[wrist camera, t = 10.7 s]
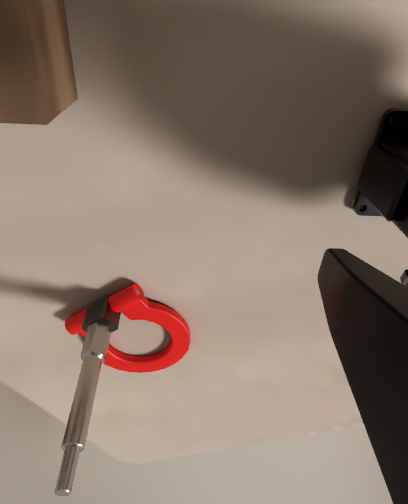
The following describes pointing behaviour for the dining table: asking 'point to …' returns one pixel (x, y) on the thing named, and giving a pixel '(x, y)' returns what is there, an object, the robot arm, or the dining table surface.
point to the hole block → (34, 61)
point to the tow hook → (112, 361)
